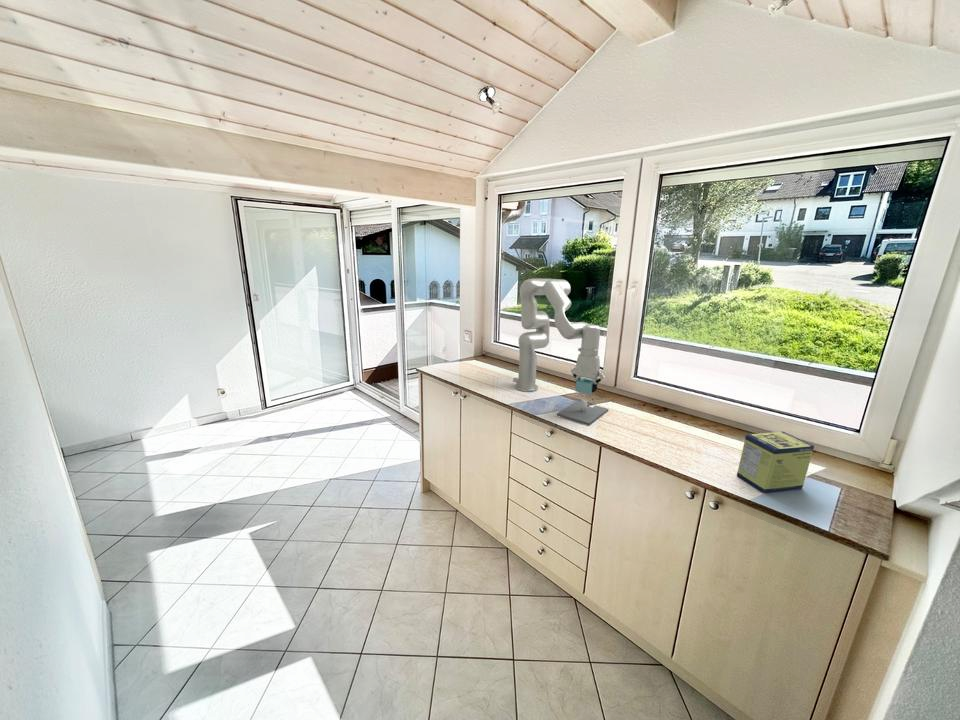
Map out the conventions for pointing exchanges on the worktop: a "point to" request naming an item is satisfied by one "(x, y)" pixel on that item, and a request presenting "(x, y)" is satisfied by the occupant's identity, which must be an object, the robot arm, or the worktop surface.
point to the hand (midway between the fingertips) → (586, 389)
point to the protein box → (774, 461)
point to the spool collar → (584, 386)
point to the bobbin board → (582, 412)
